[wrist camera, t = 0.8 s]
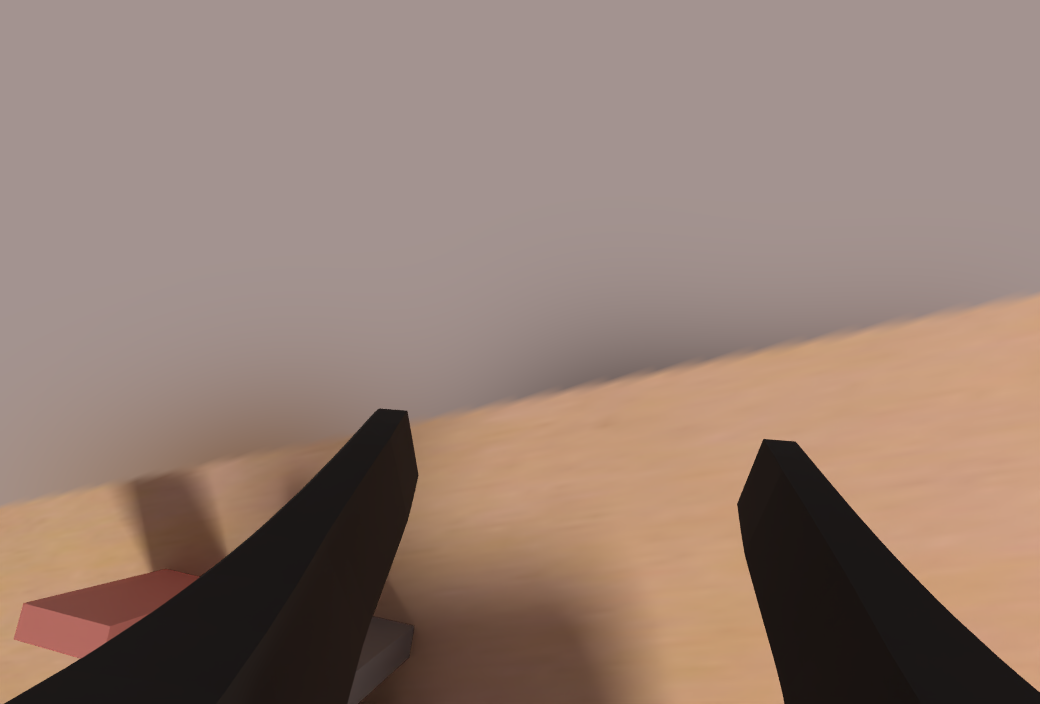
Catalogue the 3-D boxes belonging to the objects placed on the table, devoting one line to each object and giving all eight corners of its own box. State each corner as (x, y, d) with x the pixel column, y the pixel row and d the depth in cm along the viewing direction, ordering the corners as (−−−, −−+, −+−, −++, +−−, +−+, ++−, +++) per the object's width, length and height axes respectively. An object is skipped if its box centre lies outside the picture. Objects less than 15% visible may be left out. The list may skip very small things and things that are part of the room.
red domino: (230, 613, 28) (100, 664, 21) (159, 596, 29) (13, 639, 22) (236, 585, 28) (110, 626, 21) (165, 568, 29) (23, 603, 22)
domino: (409, 656, 25) (328, 730, 19) (325, 636, 26) (219, 698, 20) (414, 625, 26) (336, 686, 19) (330, 606, 27) (228, 658, 20)
